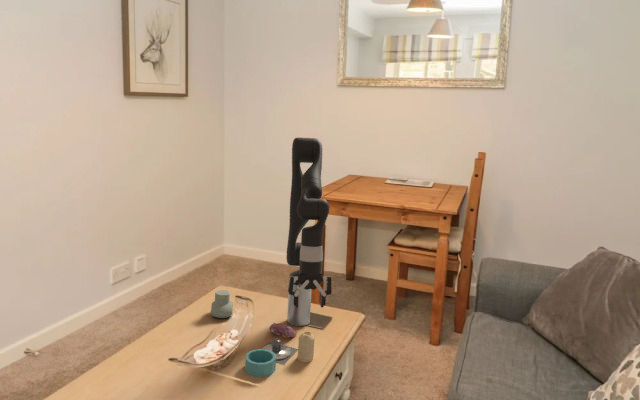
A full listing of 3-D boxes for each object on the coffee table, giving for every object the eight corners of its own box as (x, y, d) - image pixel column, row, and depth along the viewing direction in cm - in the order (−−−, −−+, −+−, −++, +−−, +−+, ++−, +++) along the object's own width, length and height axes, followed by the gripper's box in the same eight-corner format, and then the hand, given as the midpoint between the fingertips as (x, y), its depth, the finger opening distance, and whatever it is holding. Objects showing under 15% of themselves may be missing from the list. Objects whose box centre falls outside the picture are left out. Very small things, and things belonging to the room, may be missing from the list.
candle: (311, 364, 179) (312, 338, 177) (295, 362, 180) (297, 335, 178) (314, 357, 185) (316, 331, 182) (299, 354, 186) (301, 328, 183)
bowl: (254, 359, 180) (254, 346, 179) (280, 366, 177) (280, 353, 176) (239, 373, 171) (239, 359, 170) (266, 381, 168) (267, 367, 167)
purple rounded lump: (269, 338, 200) (266, 326, 196) (274, 329, 203) (271, 317, 199) (293, 344, 196) (290, 332, 192) (297, 334, 200) (295, 322, 195)
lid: (270, 343, 191) (270, 331, 190) (295, 349, 188) (296, 337, 187) (256, 355, 182) (256, 343, 181) (283, 362, 178) (283, 350, 177)
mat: (269, 343, 193) (269, 341, 192) (298, 350, 188) (298, 349, 188) (253, 357, 182) (253, 356, 182) (284, 366, 177) (284, 364, 177)
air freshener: (213, 309, 218) (213, 287, 216) (232, 309, 219) (233, 287, 217) (210, 321, 208) (210, 297, 206) (231, 321, 209) (231, 297, 207)
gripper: (330, 256, 176) (328, 303, 177) (288, 256, 174) (286, 303, 175) (334, 261, 169) (332, 310, 170) (290, 260, 167) (289, 310, 168)
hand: (309, 306), depth 173 cm, fingers open, 8 cm apart
